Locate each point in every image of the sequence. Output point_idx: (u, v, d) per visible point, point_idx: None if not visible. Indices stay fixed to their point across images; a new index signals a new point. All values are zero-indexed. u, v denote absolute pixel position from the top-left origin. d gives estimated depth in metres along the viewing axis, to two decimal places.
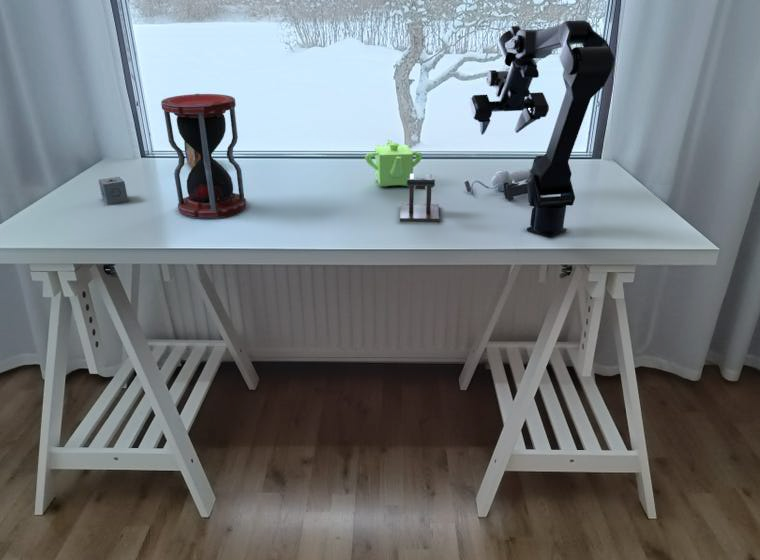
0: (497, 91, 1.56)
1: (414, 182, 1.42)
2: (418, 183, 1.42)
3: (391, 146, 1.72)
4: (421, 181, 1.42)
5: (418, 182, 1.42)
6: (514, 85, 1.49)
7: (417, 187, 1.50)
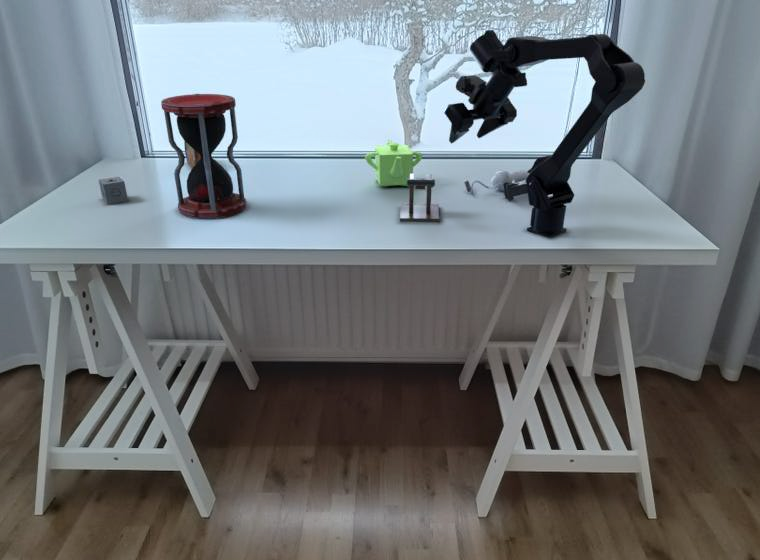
0: (471, 98, 1.48)
1: (414, 182, 1.42)
2: (418, 183, 1.42)
3: (391, 146, 1.72)
4: (421, 181, 1.42)
5: (418, 182, 1.42)
6: (498, 93, 1.43)
7: (417, 187, 1.50)
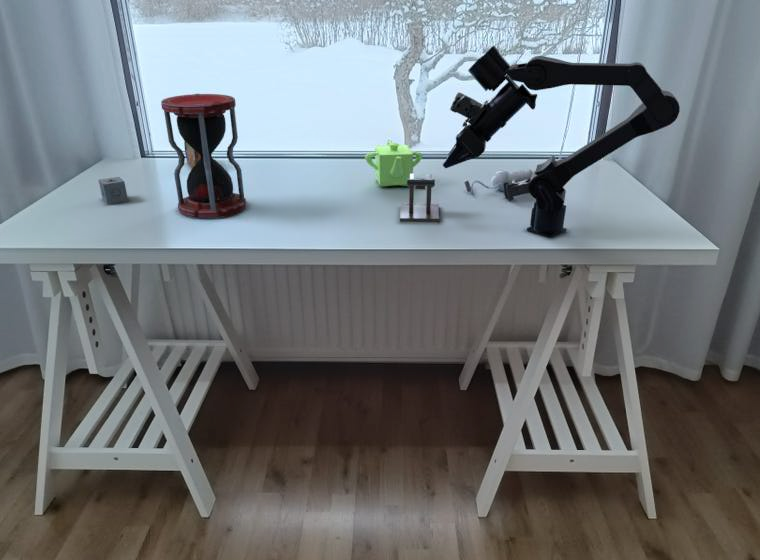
0: (473, 120, 1.35)
1: (414, 182, 1.42)
2: (418, 183, 1.42)
3: (391, 146, 1.72)
4: (421, 181, 1.42)
5: (418, 182, 1.42)
6: (509, 115, 1.34)
7: (417, 187, 1.50)
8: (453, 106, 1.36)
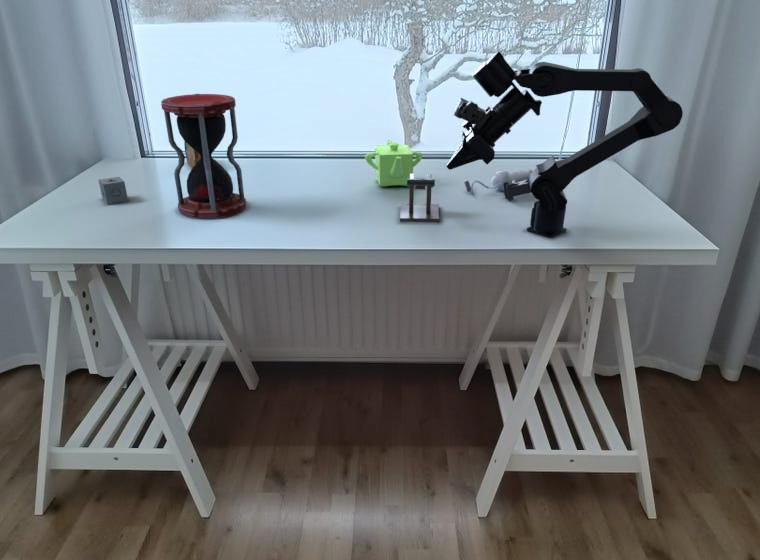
0: (479, 126, 1.33)
1: (414, 182, 1.42)
2: (418, 183, 1.42)
3: (391, 146, 1.72)
4: (421, 181, 1.42)
5: (418, 182, 1.42)
6: (514, 121, 1.33)
7: (417, 187, 1.50)
8: (458, 112, 1.33)
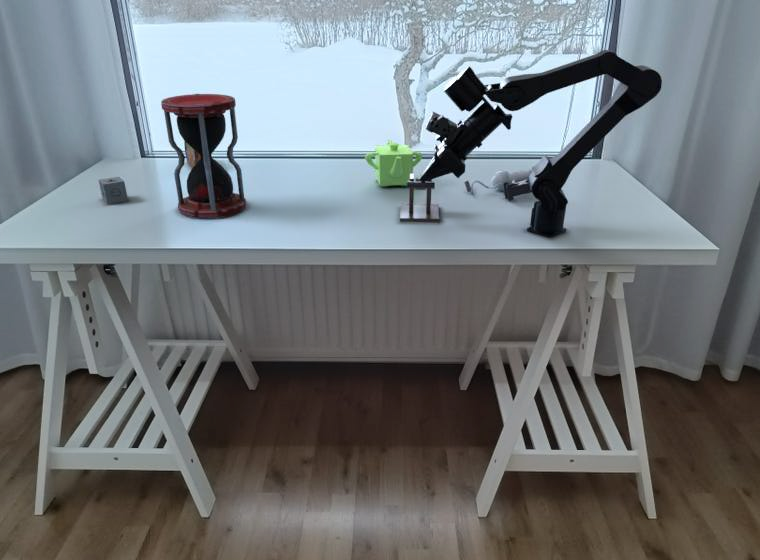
0: (450, 139, 1.35)
1: (414, 185, 1.42)
2: (418, 186, 1.42)
3: (391, 146, 1.72)
4: (420, 184, 1.42)
5: (418, 185, 1.42)
6: (486, 135, 1.35)
7: None
8: (430, 126, 1.34)
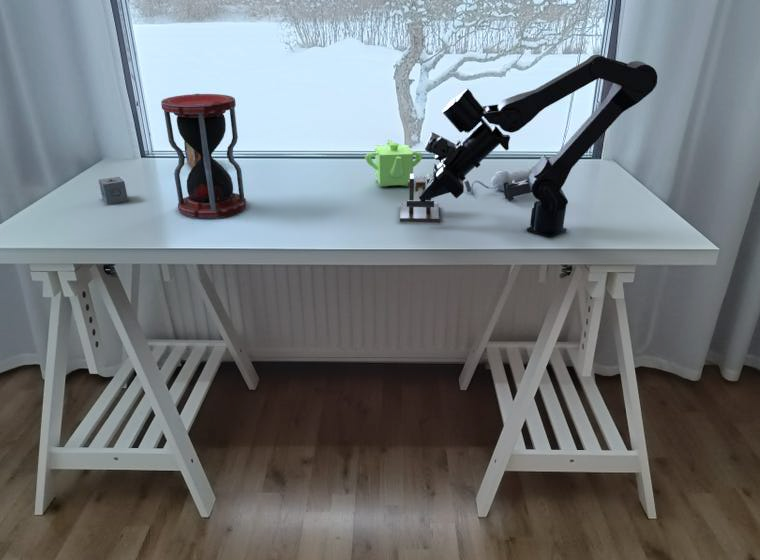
0: (449, 160, 1.37)
1: (413, 205, 1.44)
2: (417, 206, 1.44)
3: (391, 146, 1.72)
4: (420, 204, 1.44)
5: (417, 205, 1.44)
6: (484, 156, 1.37)
7: (417, 190, 1.51)
8: (429, 147, 1.36)
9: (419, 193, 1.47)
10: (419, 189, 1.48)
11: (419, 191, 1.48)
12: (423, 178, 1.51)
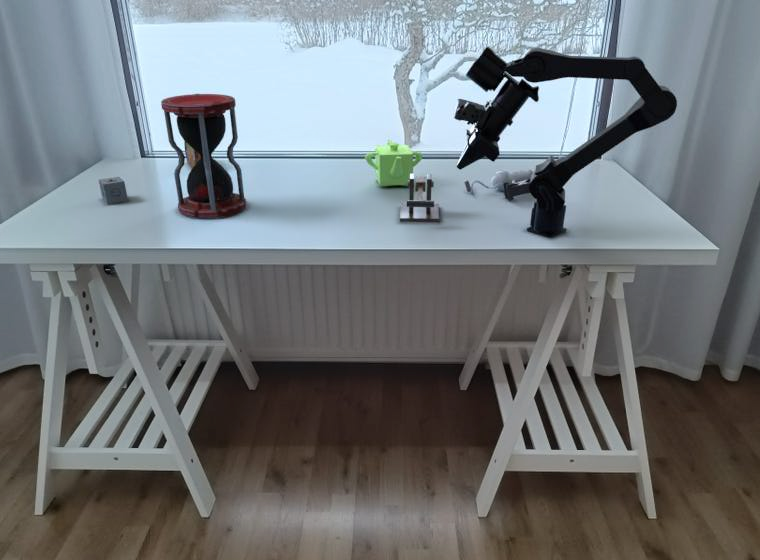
0: (480, 124, 1.35)
1: (413, 205, 1.44)
2: (417, 206, 1.44)
3: (391, 146, 1.72)
4: (420, 204, 1.44)
5: (417, 205, 1.44)
6: (514, 111, 1.34)
7: (417, 190, 1.51)
8: (457, 114, 1.34)
9: (419, 193, 1.47)
10: (419, 189, 1.48)
11: (419, 191, 1.48)
12: (423, 178, 1.51)
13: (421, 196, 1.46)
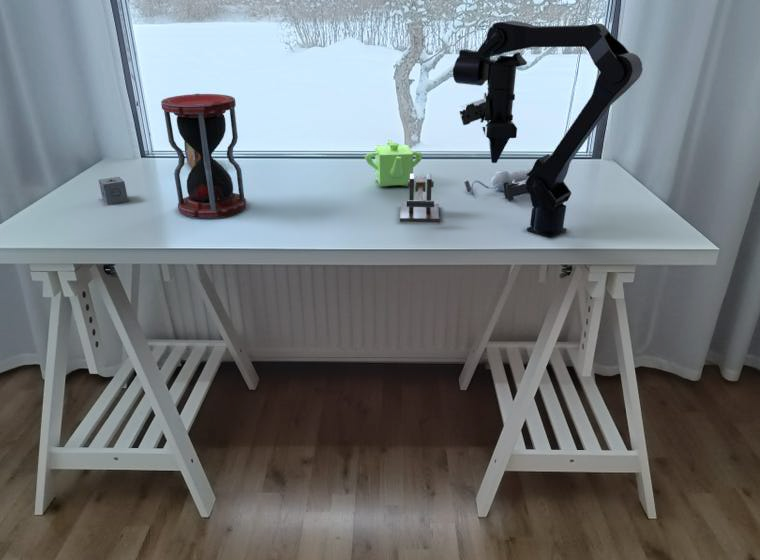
0: (488, 115, 1.39)
1: (413, 205, 1.44)
2: (417, 206, 1.44)
3: (391, 146, 1.72)
4: (420, 204, 1.44)
5: (417, 205, 1.44)
6: (506, 86, 1.36)
7: (417, 190, 1.51)
8: (464, 120, 1.40)
9: (419, 193, 1.47)
10: (419, 189, 1.48)
11: (419, 191, 1.48)
12: (423, 178, 1.51)
13: (421, 196, 1.46)
